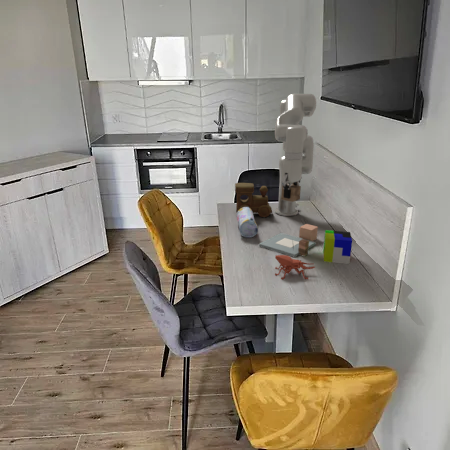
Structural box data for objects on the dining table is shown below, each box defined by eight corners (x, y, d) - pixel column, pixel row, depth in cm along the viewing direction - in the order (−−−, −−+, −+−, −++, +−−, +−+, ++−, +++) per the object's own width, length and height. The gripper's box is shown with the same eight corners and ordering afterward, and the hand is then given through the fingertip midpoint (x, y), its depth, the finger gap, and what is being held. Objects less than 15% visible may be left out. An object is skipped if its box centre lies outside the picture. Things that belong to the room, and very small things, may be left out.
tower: (301, 252, 170) (302, 239, 168) (307, 254, 168) (309, 240, 166) (298, 254, 168) (299, 241, 166) (304, 256, 166) (305, 242, 164)
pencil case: (257, 238, 185) (258, 219, 182) (239, 238, 184) (239, 219, 181) (252, 223, 204) (253, 205, 201) (235, 223, 204) (236, 205, 201)
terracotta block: (305, 235, 189) (306, 223, 187) (316, 238, 185) (317, 226, 183) (298, 239, 184) (299, 227, 182) (310, 242, 181) (311, 230, 179)
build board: (281, 234, 189) (281, 232, 189) (315, 244, 178) (315, 241, 178) (259, 246, 176) (259, 243, 176) (294, 257, 165) (295, 254, 165)
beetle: (274, 279, 147) (276, 247, 143) (274, 264, 158) (276, 235, 154) (315, 282, 145) (318, 250, 141) (313, 267, 157) (315, 237, 152)
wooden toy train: (234, 217, 212) (235, 187, 207) (234, 211, 223) (235, 182, 217) (272, 218, 212) (273, 188, 206) (270, 211, 223) (271, 182, 217)
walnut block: (288, 196, 183) (289, 184, 181) (299, 199, 179) (300, 186, 177) (281, 199, 178) (282, 186, 176) (292, 201, 175) (293, 188, 173)
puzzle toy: (349, 264, 160) (352, 240, 157) (323, 261, 162) (326, 238, 158) (347, 254, 169) (350, 232, 166) (323, 252, 171) (325, 230, 168)
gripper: (296, 153, 181) (293, 191, 187) (275, 157, 168) (273, 198, 174) (311, 154, 176) (307, 194, 182) (290, 159, 164) (288, 201, 170)
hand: (290, 196), depth 178 cm, fingers closed on walnut block, 6 cm apart
